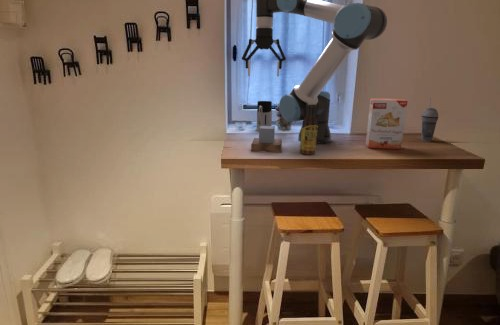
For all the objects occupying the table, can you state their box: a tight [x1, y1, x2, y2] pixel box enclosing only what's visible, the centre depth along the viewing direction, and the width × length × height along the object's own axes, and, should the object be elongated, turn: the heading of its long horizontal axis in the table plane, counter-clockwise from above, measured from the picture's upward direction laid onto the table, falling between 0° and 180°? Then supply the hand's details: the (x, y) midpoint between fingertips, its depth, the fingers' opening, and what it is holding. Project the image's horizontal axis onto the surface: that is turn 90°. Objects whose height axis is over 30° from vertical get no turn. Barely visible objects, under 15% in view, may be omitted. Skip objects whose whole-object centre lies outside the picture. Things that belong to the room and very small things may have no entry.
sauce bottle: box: [299, 104, 318, 156], centre depth 146 cm, size 6×6×20 cm
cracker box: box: [365, 98, 408, 150], centre depth 157 cm, size 14×6×21 cm, turn 86°
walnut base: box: [250, 137, 283, 153], centre depth 156 cm, size 12×12×3 cm
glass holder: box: [255, 100, 273, 132], centre depth 192 cm, size 9×14×15 cm, turn 162°
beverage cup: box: [420, 97, 439, 143], centre depth 172 cm, size 7×7×20 cm
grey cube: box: [258, 125, 276, 143], centre depth 154 cm, size 6×6×6 cm
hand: (263, 76), depth 171 cm, fingers open, 13 cm apart
